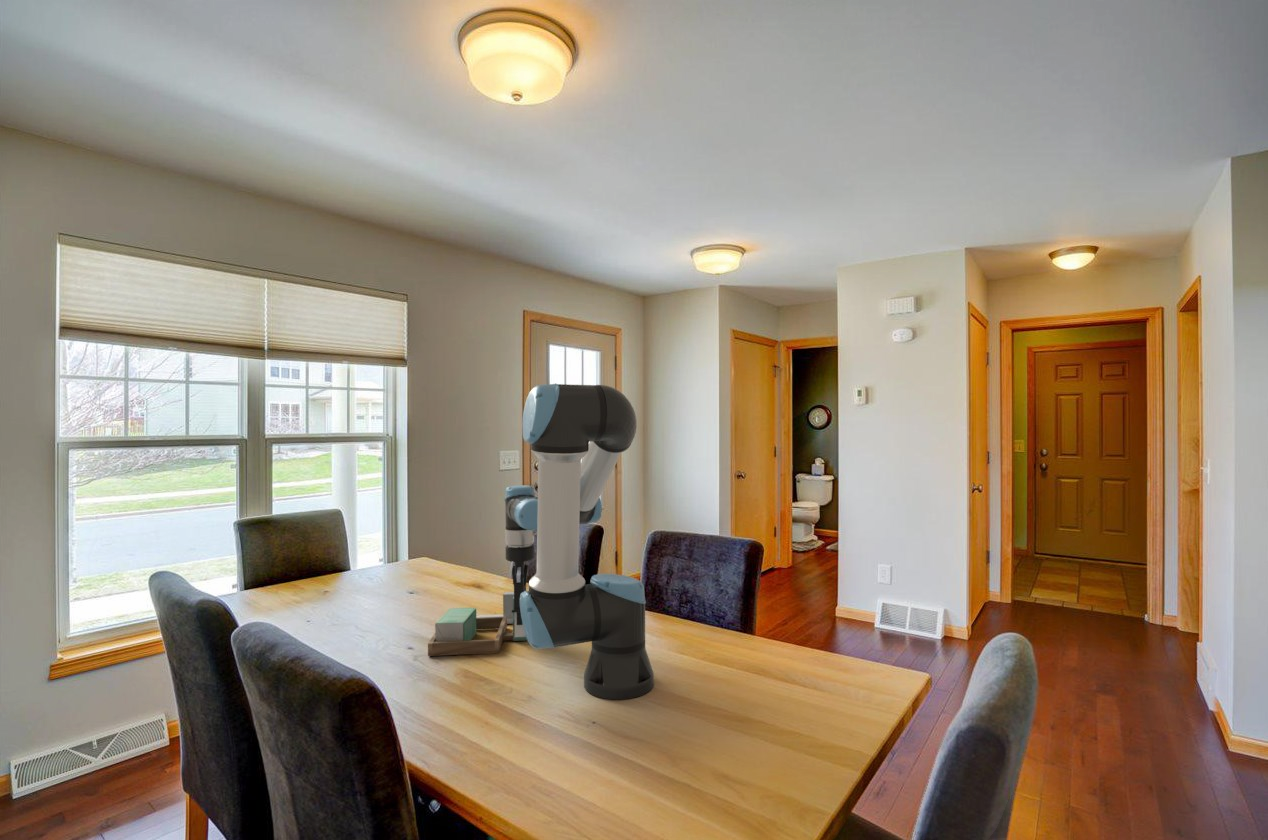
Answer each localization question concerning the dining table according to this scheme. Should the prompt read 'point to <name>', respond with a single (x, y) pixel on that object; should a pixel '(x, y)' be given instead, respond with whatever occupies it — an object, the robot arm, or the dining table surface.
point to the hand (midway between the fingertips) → (520, 633)
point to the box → (456, 625)
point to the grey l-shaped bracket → (505, 607)
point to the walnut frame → (477, 645)
